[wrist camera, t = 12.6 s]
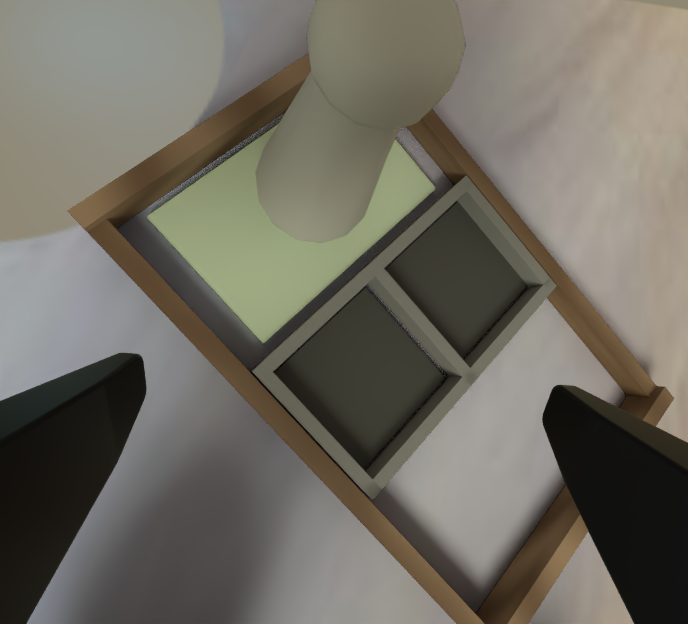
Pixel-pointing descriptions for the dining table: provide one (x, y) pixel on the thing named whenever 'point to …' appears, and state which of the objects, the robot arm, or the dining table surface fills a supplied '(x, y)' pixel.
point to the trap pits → (396, 346)
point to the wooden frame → (133, 197)
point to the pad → (274, 237)
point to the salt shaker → (355, 108)
